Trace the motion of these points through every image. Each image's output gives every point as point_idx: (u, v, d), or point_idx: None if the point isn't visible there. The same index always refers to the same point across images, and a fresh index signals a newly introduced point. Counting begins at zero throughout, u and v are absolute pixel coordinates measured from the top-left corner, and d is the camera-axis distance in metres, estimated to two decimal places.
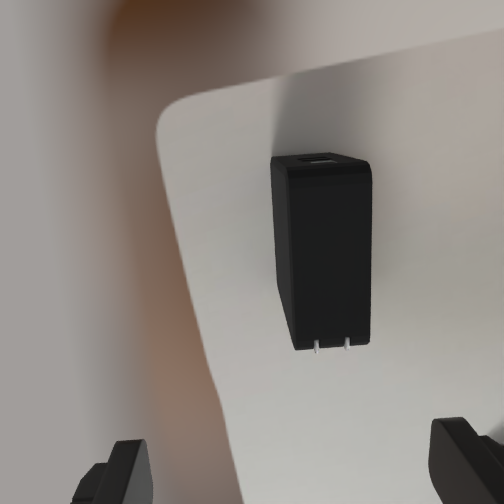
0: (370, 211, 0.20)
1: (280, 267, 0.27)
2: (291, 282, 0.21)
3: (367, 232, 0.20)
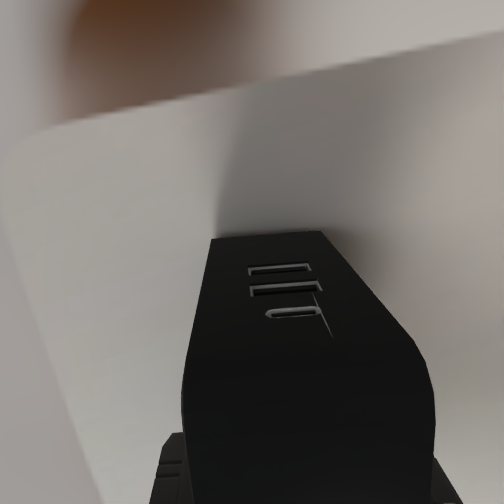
0: (426, 490, 0.07)
1: None
2: None
3: None
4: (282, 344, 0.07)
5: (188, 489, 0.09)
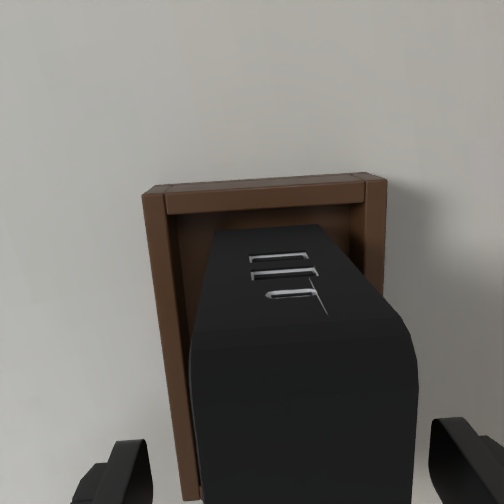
0: (410, 452, 0.08)
1: None
2: None
3: (401, 497, 0.08)
4: (281, 320, 0.08)
5: None
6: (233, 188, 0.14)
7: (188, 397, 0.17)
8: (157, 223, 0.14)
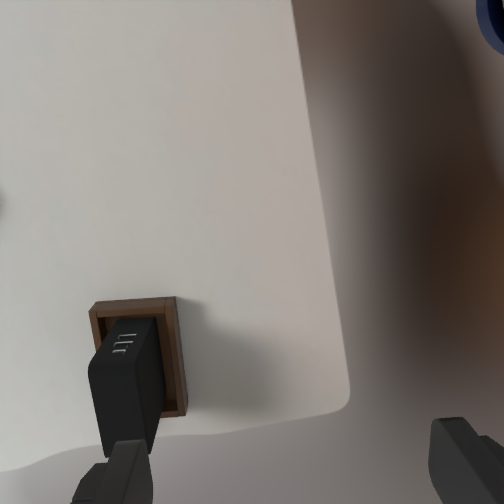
0: (136, 387, 0.35)
1: None
2: (98, 422, 0.36)
3: (136, 398, 0.36)
4: (110, 359, 0.36)
5: None
6: (119, 308, 0.42)
7: None
8: (94, 320, 0.42)
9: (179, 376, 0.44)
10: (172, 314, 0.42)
